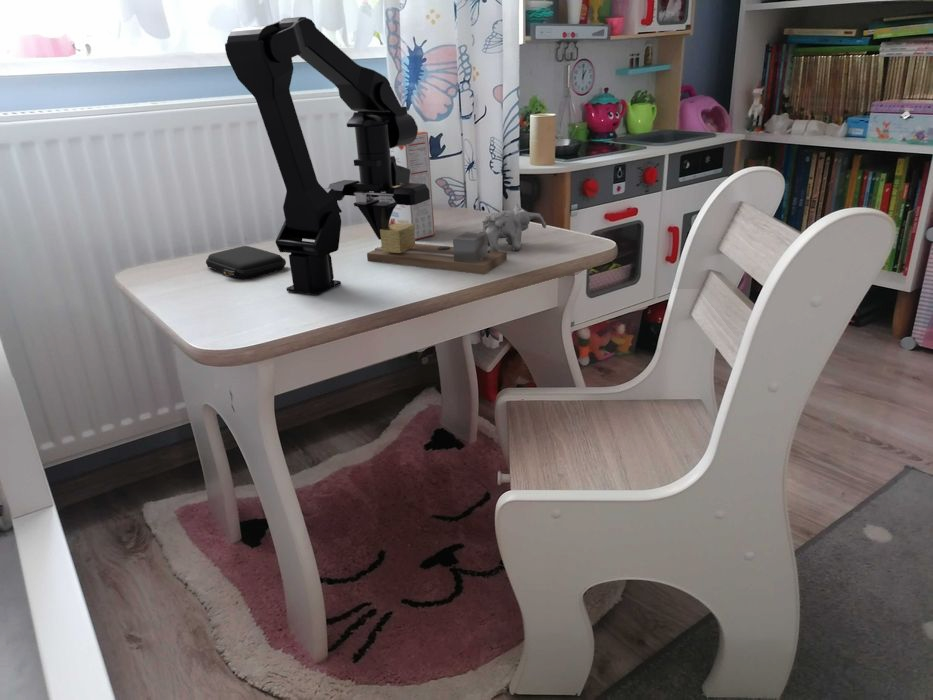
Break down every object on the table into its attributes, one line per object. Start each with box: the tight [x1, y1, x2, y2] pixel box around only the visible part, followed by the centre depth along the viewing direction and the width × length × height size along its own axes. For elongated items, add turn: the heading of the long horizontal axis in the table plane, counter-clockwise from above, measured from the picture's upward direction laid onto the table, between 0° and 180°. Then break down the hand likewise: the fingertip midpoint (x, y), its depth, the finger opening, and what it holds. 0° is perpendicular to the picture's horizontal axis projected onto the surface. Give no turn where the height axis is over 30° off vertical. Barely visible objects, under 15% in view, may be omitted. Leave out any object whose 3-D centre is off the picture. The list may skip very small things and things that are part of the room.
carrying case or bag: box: [205, 245, 287, 280], centre depth 126 cm, size 11×3×15 cm
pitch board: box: [366, 231, 508, 275], centre depth 124 cm, size 9×24×6 cm, turn 62°
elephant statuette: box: [481, 203, 547, 252], centre depth 131 cm, size 9×12×8 cm
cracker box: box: [377, 130, 436, 241], centre depth 142 cm, size 14×6×21 cm, turn 38°
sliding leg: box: [380, 223, 416, 253], centre depth 127 cm, size 8×4×4 cm, turn 152°
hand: (381, 239), depth 128 cm, fingers closed
